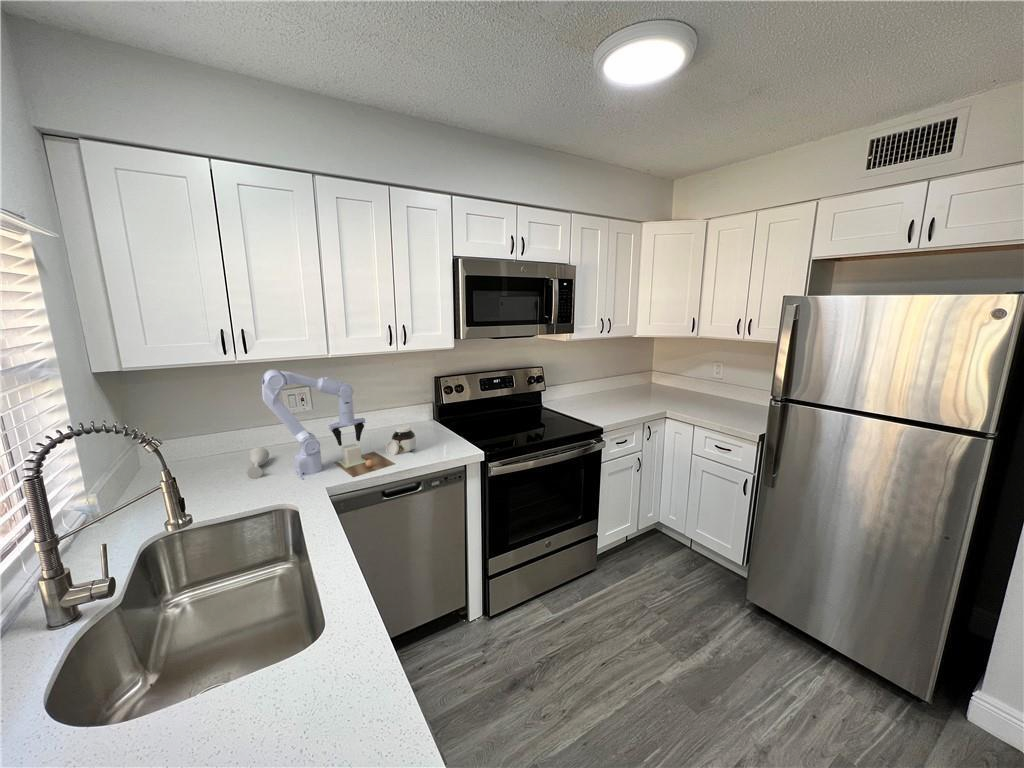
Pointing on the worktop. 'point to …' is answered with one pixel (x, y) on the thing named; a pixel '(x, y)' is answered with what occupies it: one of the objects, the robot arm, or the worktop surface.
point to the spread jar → (401, 440)
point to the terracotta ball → (369, 463)
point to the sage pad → (351, 464)
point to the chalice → (257, 461)
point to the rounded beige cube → (351, 454)
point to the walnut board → (362, 469)
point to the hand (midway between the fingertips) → (349, 442)
